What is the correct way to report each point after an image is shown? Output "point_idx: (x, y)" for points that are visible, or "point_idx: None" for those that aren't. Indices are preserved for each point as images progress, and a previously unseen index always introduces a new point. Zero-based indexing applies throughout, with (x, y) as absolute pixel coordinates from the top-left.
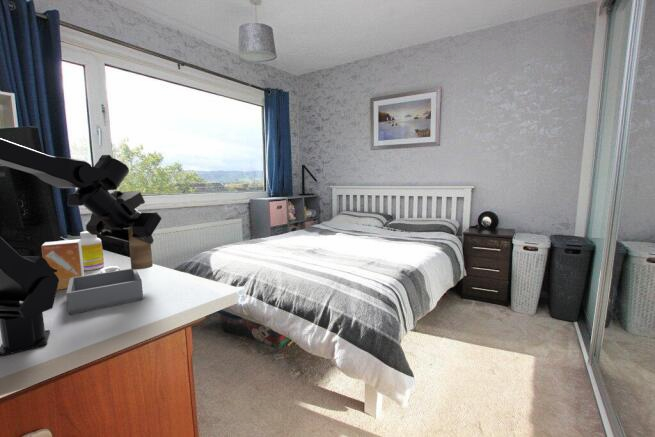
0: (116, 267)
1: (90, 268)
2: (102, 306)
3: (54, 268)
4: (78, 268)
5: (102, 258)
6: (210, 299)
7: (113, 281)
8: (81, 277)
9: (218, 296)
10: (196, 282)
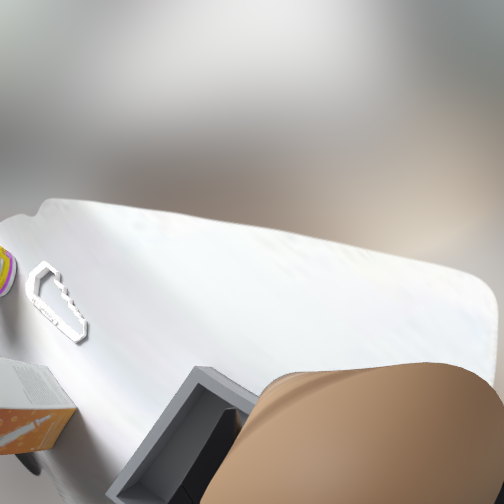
0: (45, 267)
1: (7, 290)
2: None
3: (19, 444)
4: (40, 413)
5: (2, 254)
6: (491, 352)
7: (176, 426)
8: (124, 486)
9: (492, 331)
10: (381, 279)
